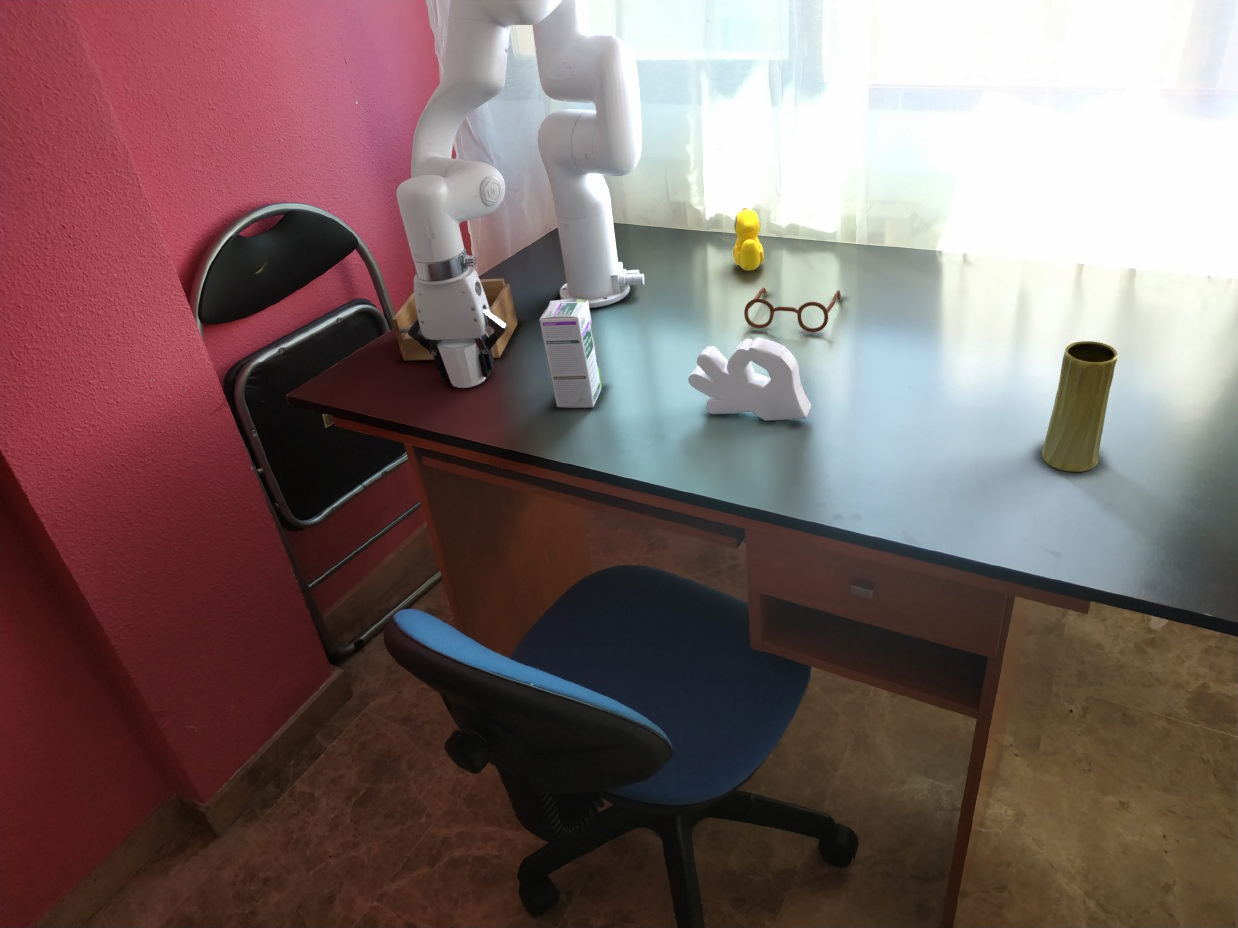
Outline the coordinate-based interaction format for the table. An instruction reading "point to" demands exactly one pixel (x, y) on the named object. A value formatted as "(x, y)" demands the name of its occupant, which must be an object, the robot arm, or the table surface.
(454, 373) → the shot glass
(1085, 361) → the vase
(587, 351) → the syrup box
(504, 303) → the spice rack
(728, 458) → the table surface
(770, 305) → the glasses
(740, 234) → the duckling
